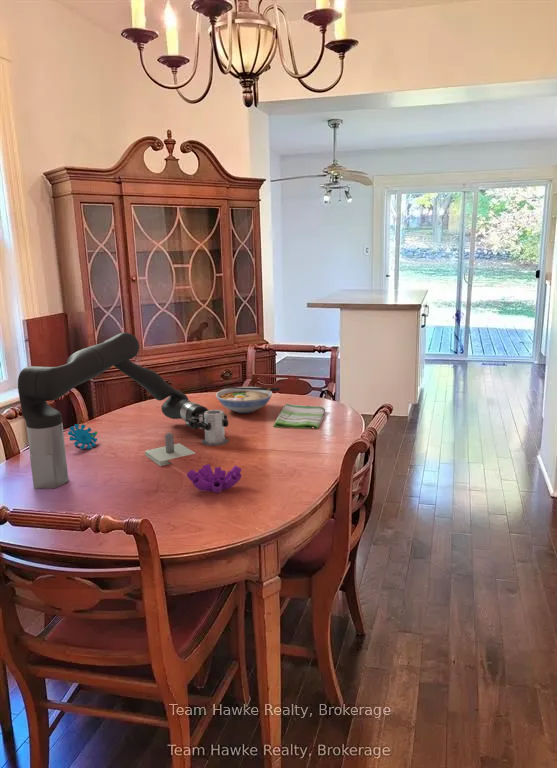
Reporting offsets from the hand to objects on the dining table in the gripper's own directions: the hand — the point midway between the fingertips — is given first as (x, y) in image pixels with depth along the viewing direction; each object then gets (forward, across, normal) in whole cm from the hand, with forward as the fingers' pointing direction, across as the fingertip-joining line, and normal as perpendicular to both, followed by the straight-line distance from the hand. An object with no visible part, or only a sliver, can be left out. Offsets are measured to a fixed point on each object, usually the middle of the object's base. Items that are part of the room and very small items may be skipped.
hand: (217, 425), depth 189 cm
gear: (-28, -36, +8) cm, 46 cm away
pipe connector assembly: (+30, -18, +8) cm, 36 cm away
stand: (-2, 0, +8) cm, 8 cm away
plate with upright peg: (-2, -16, +8) cm, 18 cm away
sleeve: (-2, 0, +6) cm, 6 cm away
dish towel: (-10, +41, +8) cm, 43 cm away
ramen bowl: (-33, +30, +8) cm, 45 cm away
